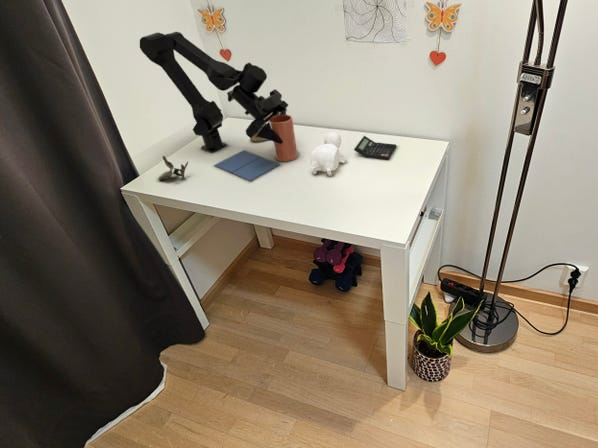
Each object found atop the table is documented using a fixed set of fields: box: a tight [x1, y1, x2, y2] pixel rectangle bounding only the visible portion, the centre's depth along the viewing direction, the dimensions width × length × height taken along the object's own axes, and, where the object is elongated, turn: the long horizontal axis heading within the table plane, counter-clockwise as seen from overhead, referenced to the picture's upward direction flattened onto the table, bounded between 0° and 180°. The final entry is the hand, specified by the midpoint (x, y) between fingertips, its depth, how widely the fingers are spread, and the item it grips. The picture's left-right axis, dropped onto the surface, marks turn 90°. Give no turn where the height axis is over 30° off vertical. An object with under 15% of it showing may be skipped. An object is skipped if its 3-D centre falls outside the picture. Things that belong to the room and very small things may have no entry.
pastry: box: [249, 133, 269, 143], centre depth 144 cm, size 9×7×4 cm
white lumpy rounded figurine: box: [310, 131, 346, 177], centre depth 124 cm, size 9×8×15 cm
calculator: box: [353, 135, 397, 161], centre depth 131 cm, size 9×12×3 cm
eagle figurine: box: [158, 155, 189, 181], centre depth 123 cm, size 8×7×9 cm
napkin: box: [214, 150, 280, 182], centre depth 128 cm, size 18×12×1 cm, turn 53°
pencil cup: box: [268, 114, 299, 162], centre depth 128 cm, size 7×7×13 cm
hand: (287, 138), depth 128 cm, fingers closed on pencil cup, 7 cm apart
